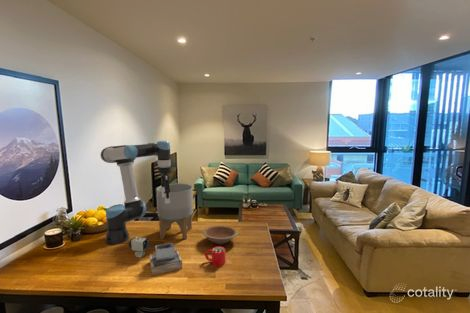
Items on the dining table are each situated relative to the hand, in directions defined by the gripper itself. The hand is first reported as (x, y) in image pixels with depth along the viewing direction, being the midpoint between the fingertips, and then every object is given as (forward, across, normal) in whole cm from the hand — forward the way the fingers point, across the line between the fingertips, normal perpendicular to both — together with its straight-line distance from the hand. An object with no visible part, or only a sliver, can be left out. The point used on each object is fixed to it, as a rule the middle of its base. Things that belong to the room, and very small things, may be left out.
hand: (165, 200), depth 162 cm
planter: (+33, -21, +9) cm, 40 cm away
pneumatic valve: (+33, +2, -17) cm, 37 cm away
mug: (+33, +26, +23) cm, 48 cm away
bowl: (+33, +3, +34) cm, 48 cm away
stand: (+33, +18, -4) cm, 38 cm away
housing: (+28, +18, -4) cm, 34 cm away
